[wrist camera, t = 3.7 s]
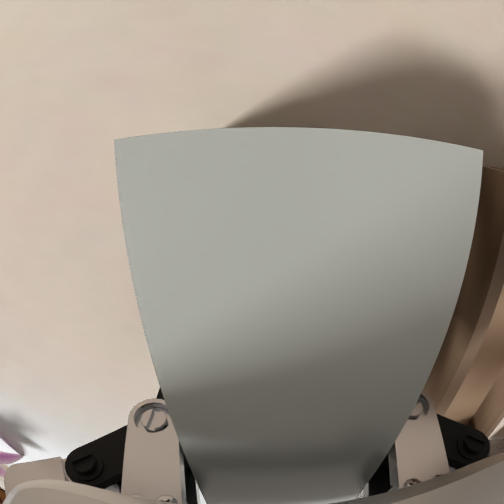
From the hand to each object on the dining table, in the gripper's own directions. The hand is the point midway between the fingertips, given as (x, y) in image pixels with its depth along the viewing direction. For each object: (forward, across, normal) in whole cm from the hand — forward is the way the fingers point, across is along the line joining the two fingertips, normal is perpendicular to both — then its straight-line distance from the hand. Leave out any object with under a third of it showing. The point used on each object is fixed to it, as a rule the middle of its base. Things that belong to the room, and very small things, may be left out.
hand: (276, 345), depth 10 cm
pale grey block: (+1, 0, 0) cm, 1 cm away
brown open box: (+1, -11, +2) cm, 11 cm away
